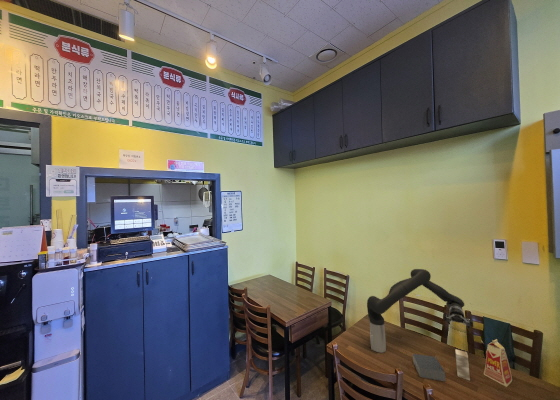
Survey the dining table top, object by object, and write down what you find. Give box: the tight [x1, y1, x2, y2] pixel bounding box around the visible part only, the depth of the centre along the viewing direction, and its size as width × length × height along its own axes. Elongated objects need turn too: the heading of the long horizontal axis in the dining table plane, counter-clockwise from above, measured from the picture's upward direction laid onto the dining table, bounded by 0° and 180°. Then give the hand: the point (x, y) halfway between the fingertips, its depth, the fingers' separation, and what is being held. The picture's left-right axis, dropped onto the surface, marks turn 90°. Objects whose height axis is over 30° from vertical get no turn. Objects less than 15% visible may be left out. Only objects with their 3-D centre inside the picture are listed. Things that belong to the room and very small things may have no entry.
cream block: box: [454, 348, 471, 381], centre depth 117 cm, size 5×5×12 cm
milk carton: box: [483, 338, 513, 388], centre depth 115 cm, size 9×9×20 cm
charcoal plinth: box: [412, 353, 446, 383], centre depth 121 cm, size 12×12×5 cm
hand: (458, 325), depth 127 cm, fingers open, 8 cm apart
